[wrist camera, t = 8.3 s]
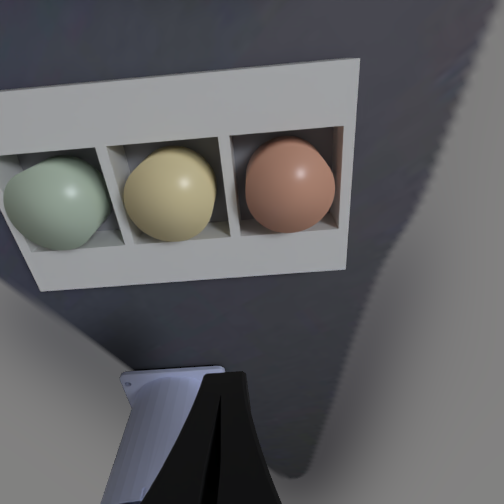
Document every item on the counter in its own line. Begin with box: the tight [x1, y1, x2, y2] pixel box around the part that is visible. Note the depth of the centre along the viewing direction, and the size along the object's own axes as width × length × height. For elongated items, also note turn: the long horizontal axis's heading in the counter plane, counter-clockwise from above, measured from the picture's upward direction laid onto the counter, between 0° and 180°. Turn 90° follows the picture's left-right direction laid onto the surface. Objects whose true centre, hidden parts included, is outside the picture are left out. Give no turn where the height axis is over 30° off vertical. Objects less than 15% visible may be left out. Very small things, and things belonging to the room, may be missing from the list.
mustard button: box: [124, 146, 217, 242], centre depth 16 cm, size 4×4×2 cm
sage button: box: [3, 155, 113, 250], centre depth 17 cm, size 4×4×2 cm
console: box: [0, 58, 360, 291], centre depth 17 cm, size 10×17×3 cm, turn 95°
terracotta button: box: [245, 136, 335, 233], centre depth 16 cm, size 4×4×2 cm
